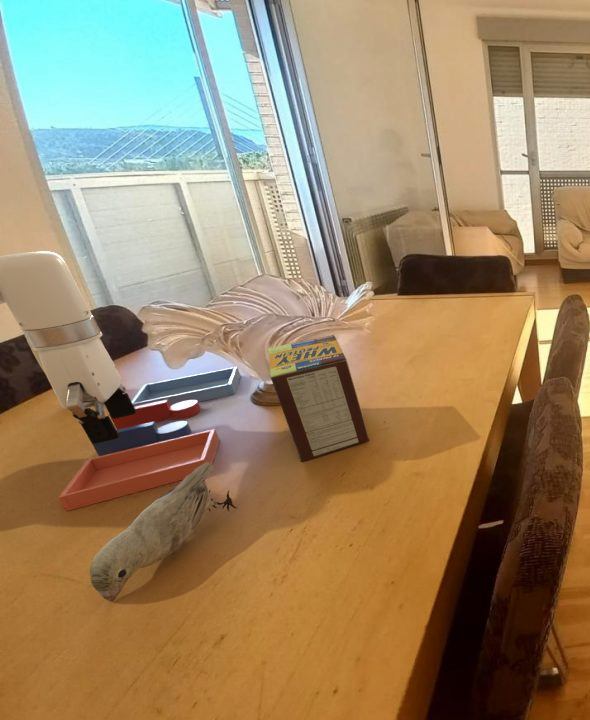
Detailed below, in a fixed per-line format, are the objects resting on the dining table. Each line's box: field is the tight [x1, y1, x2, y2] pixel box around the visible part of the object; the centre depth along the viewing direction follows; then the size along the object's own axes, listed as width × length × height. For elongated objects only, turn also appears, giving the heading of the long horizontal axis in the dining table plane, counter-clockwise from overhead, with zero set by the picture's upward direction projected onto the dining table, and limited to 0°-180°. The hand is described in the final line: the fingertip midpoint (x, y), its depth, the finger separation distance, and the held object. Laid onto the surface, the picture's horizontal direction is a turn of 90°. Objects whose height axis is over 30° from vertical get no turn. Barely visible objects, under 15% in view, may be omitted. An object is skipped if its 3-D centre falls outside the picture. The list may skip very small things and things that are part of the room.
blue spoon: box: [91, 420, 193, 457], centre depth 83 cm, size 12×4×4 cm, turn 122°
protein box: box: [267, 334, 370, 462], centre depth 82 cm, size 10×15×16 cm
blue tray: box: [131, 366, 242, 407], centre depth 101 cm, size 16×11×2 cm
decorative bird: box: [89, 462, 237, 603], centre depth 58 cm, size 5×16×7 cm, turn 177°
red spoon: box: [108, 400, 202, 430], centre depth 91 cm, size 12×4×4 cm, turn 122°
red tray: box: [57, 428, 221, 512], centre depth 75 cm, size 16×11×2 cm
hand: (116, 427), depth 81 cm, fingers open, 9 cm apart
